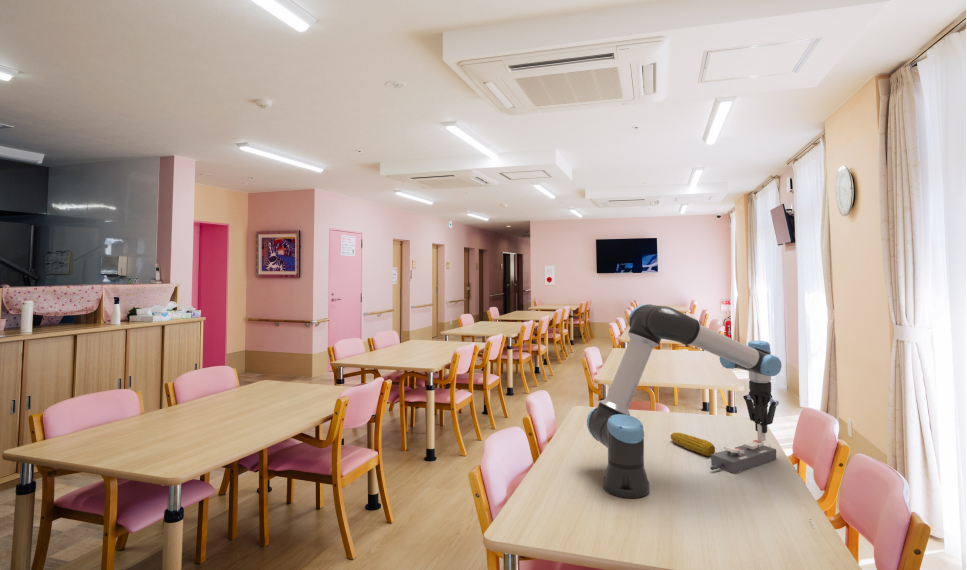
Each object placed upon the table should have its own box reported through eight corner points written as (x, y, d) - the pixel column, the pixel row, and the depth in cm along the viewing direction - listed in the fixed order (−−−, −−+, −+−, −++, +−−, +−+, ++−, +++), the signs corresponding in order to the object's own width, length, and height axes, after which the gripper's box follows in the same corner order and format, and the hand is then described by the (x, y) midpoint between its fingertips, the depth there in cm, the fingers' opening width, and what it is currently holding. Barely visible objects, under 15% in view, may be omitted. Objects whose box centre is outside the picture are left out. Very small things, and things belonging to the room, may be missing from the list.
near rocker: (733, 452, 174) (733, 449, 174) (723, 449, 177) (723, 446, 177) (744, 453, 177) (744, 450, 177) (734, 450, 180) (735, 447, 180)
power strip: (723, 477, 167) (722, 463, 167) (700, 468, 175) (700, 454, 175) (776, 459, 182) (776, 446, 182) (753, 452, 190) (753, 439, 190)
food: (717, 457, 186) (717, 442, 186) (707, 459, 183) (707, 444, 183) (675, 440, 205) (675, 426, 205) (665, 442, 202) (665, 428, 202)
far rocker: (753, 449, 179) (752, 446, 179) (743, 446, 183) (743, 443, 182) (764, 445, 182) (764, 442, 182) (754, 442, 186) (754, 439, 186)
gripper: (782, 382, 180) (784, 443, 181) (749, 376, 192) (751, 433, 192) (771, 385, 177) (772, 447, 177) (738, 379, 188) (739, 437, 189)
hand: (761, 440), depth 185 cm, fingers closed
